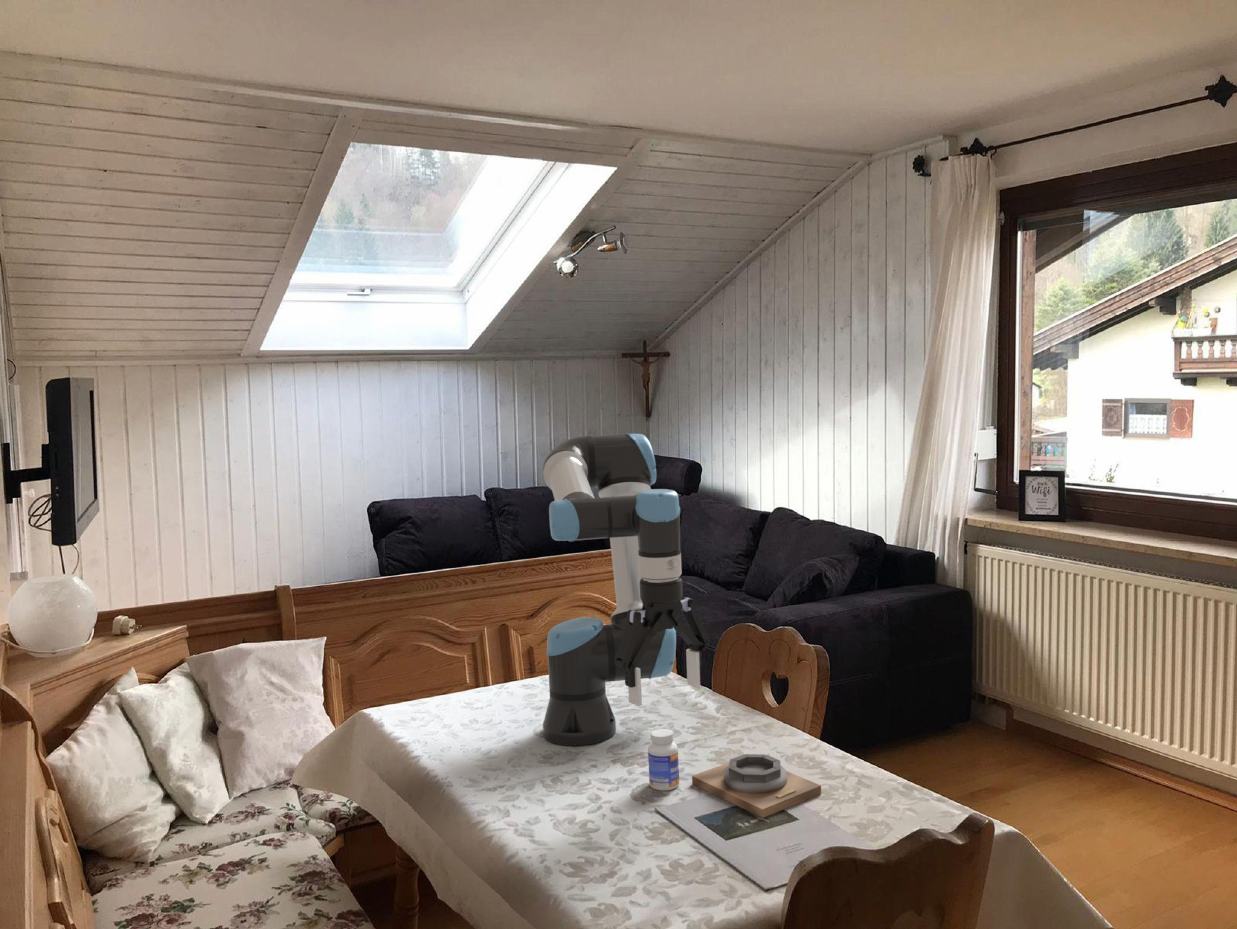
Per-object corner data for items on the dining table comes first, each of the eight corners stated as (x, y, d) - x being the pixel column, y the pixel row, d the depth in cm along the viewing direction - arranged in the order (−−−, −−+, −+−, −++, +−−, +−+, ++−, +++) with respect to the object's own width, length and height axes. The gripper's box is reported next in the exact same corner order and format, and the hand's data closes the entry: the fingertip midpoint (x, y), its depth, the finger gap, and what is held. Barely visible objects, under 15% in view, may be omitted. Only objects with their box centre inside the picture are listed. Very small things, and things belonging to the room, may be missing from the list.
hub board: (692, 783, 178) (691, 759, 177) (749, 763, 186) (748, 739, 185) (762, 818, 163) (761, 791, 163) (821, 793, 171) (820, 768, 171)
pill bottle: (677, 792, 175) (675, 738, 174) (647, 790, 176) (644, 737, 175) (681, 779, 180) (679, 727, 179) (652, 778, 181) (649, 726, 180)
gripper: (617, 593, 164) (622, 717, 166) (726, 569, 179) (730, 683, 181) (590, 586, 170) (596, 706, 172) (699, 563, 185) (703, 673, 187)
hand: (665, 694), depth 176 cm, fingers open, 13 cm apart
